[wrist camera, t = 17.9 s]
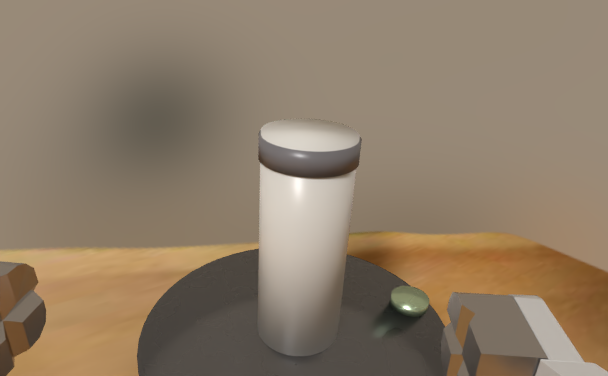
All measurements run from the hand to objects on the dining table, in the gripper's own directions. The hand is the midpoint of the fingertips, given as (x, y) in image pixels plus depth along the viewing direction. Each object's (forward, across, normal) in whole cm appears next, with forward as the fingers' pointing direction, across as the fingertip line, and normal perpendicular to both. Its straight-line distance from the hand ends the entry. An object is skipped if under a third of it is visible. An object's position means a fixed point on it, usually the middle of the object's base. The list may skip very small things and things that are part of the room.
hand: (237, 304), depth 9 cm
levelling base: (+14, 0, +16) cm, 21 cm away
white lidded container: (+14, 0, +12) cm, 18 cm away
